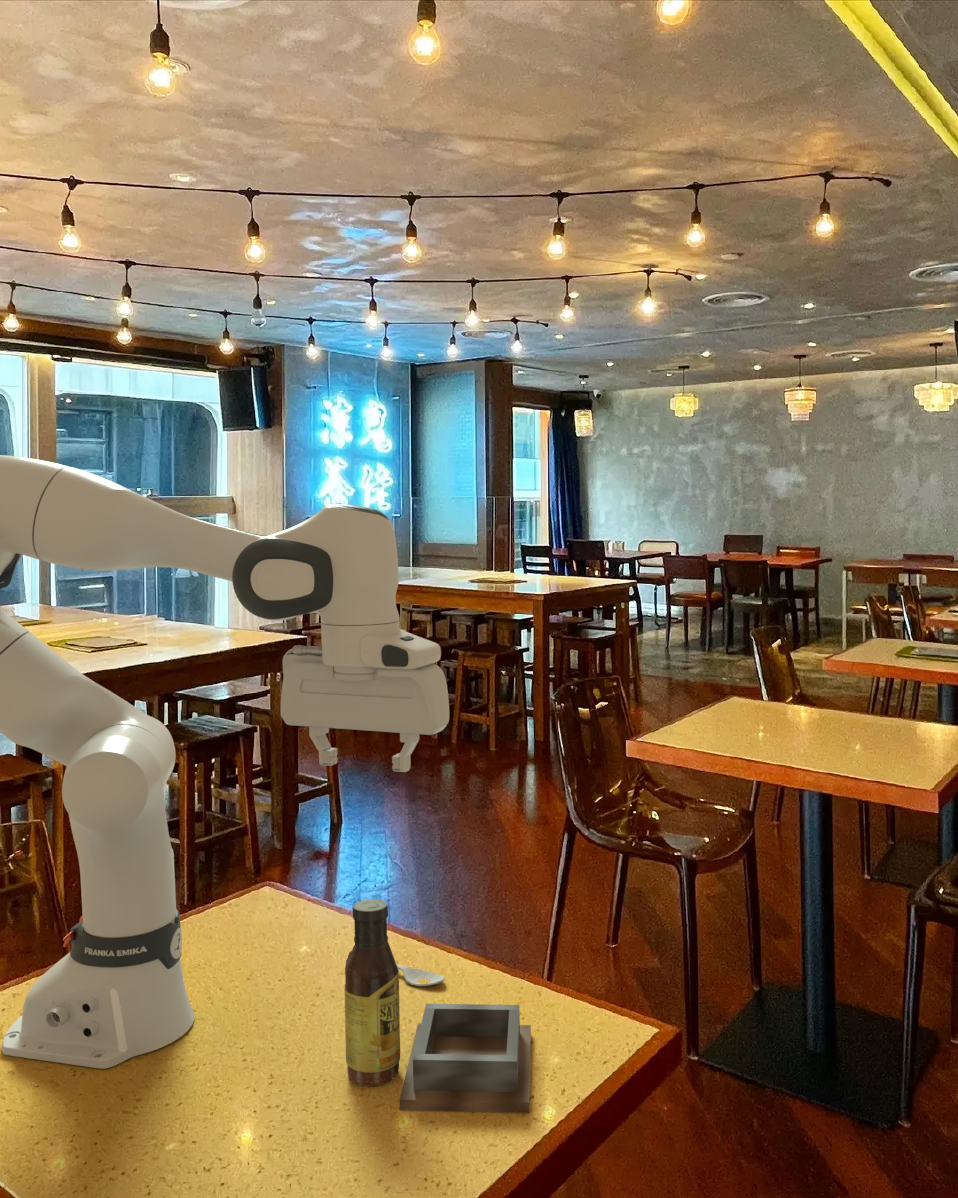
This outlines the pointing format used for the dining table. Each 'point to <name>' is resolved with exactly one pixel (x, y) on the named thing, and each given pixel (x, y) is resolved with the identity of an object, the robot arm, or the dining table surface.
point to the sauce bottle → (371, 999)
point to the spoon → (420, 976)
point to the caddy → (469, 1060)
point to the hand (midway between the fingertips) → (364, 767)
